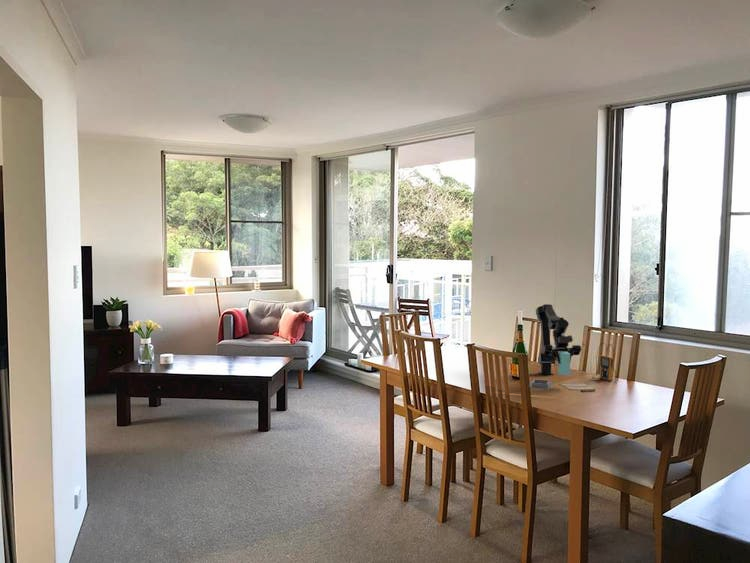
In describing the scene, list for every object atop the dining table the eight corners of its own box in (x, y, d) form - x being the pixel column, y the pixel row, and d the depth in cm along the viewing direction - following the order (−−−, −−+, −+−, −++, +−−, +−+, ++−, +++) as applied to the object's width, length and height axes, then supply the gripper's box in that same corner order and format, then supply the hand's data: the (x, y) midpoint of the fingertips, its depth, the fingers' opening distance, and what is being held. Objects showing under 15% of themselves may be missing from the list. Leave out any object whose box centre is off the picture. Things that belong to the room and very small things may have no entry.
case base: (531, 383, 316) (531, 377, 315) (552, 385, 312) (552, 379, 311) (528, 389, 302) (528, 383, 302) (550, 391, 299) (550, 385, 298)
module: (558, 372, 306) (558, 351, 306) (566, 372, 306) (567, 351, 305) (560, 374, 301) (561, 353, 301) (569, 374, 301) (570, 353, 300)
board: (559, 386, 310) (559, 383, 310) (582, 385, 312) (582, 382, 312) (571, 392, 297) (571, 389, 297) (595, 391, 299) (595, 388, 299)
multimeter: (584, 377, 329) (585, 342, 327) (598, 376, 333) (599, 341, 331) (604, 383, 315) (605, 346, 314) (618, 382, 319) (619, 345, 318)
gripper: (544, 329, 306) (549, 354, 296) (580, 330, 306) (587, 355, 296) (540, 341, 315) (545, 366, 305) (575, 342, 314) (581, 367, 304)
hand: (564, 363), depth 302 cm, fingers closed on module, 4 cm apart
